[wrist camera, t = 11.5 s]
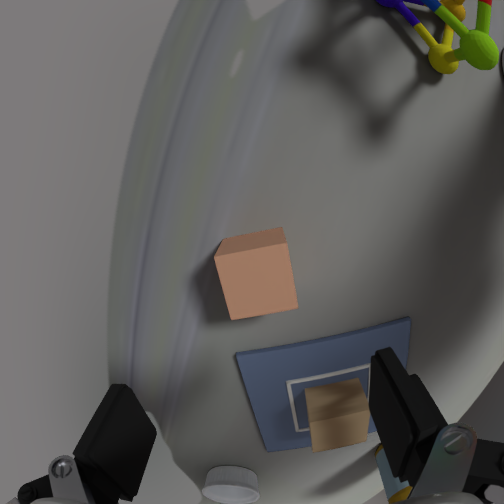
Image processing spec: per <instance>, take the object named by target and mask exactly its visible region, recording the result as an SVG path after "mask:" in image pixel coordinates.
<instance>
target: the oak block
mask: <svg viewBox="0 0 504 504" xmlns="http://www.w3.org/2000/svg"><path fill="white" fill-rule="evenodd" d="M305 396H306V405H307V414H308V422H309V429H310V436H311V443H312V450H313V453H314V452H320V451H325V450H330V449H335V448H340V447H345V446H349V445H353V444H357V443H361V442H365V441H366V439H367V433H368V426H369V419H370V411H369V405H368V401H367V398H366V395H365V393H364V390H363V388H362V385H361V383H360V380H359V378H354V379H350V380H345V381H341V382H336V383H331V384H326V385H321V386H316V387H310V388H305Z"/></svg>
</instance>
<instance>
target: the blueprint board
mask: <svg viewBox="0 0 504 504" xmlns="http://www.w3.org/2000/svg"><path fill="white" fill-rule="evenodd" d="M410 326H411V319H410V318H409V317H406V318H402V319H399V320H395V321H391V322H388V323H384V324H380V325H376V326H372V327H368V328H364V329H360V330H356V331H352V332H348V333H343V334H339V335H334V336H329V337H325V338H320V339H315V340H310V341H305V342H299V343H294V344H288V345H283V346H277V347H271V348H264V349H258V350H251V351H244V352H237V353H236V358H237V361H238V364H239V367H240V371H241V374H242V377H243V380H244V383H245V386H246V390H247V393H248V396H249V399H250V402H251V405H252V408H253V411H254V414H255V417H256V420H257V423H258V426H259V429H260V432H261V435H262V438H263V441H264V443H265V446H266V449H267V452H273V451H282V450H289V449H296V448H303V447H309V446H312V443H311V436H310V429H309V422H308V414H307V405H306V396H305V388H310V387H316V386H321V385H326V384H331V383H336V382H341V381H345V380H350V379H354V378H359V380H360V383H361V385H362V388H363V390H364V393H365V395H366V398H367V401H368V402H369V387H370V364H371V356H373V355H375V352H376V351H377V350H380V349H384V348H387V347H391V348H392V349H393V351H394V352H395V354H396V355H397V357H398V359H399V360H400V362H401V363H402V365H403V367H404V368H405V370H406V365H407V357H408V348H409V338H410ZM375 431H377V429H376V427H375V424H374V421H373V419H372V416H371V413H370V419H369V426H368V433H371V432H375Z"/></svg>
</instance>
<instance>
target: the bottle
mask: <svg viewBox="0 0 504 504" xmlns="http://www.w3.org/2000/svg"><path fill="white" fill-rule="evenodd" d="M375 458H376V462H377V465H378V468H379V471H380V475H381V478H382V481H383V485H384V488H385V492H386V495H387V499H388V502H389V504H392V503H395V502H399V501H402V500H406V499H407V497H408V495H409V493H410V491H411V489H412V487H411V486H409V483H408V480H407V481H404V482H402V483H400V480H399V477H397V478H394V477H393V475H392V472H391V469H390V466H389V463H388V460H387V457H386V454H385V452H384V449H383V446H382V444H381V445H380V446H379V447H378V449H377V451H376V452H375Z"/></svg>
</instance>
